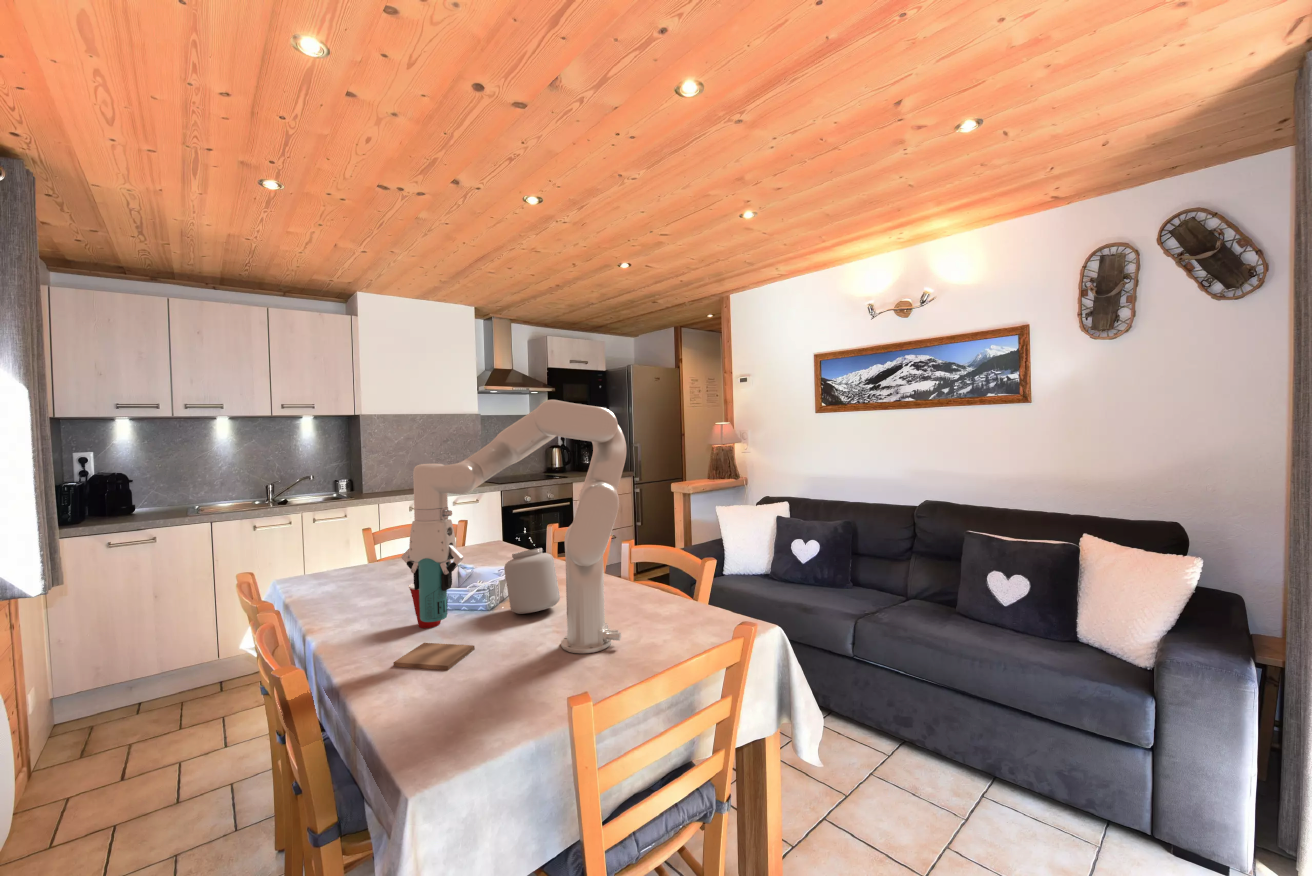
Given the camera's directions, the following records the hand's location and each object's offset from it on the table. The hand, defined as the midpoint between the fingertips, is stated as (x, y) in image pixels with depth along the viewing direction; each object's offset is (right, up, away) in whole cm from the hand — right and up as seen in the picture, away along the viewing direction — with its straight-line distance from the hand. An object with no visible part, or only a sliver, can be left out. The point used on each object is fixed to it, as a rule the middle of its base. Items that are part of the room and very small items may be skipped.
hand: (433, 588), depth 135 cm
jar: (+16, -16, +34) cm, 41 cm away
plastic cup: (-10, -17, +24) cm, 31 cm away
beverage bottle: (0, -9, 0) cm, 9 cm away
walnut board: (0, -17, 0) cm, 17 cm away
